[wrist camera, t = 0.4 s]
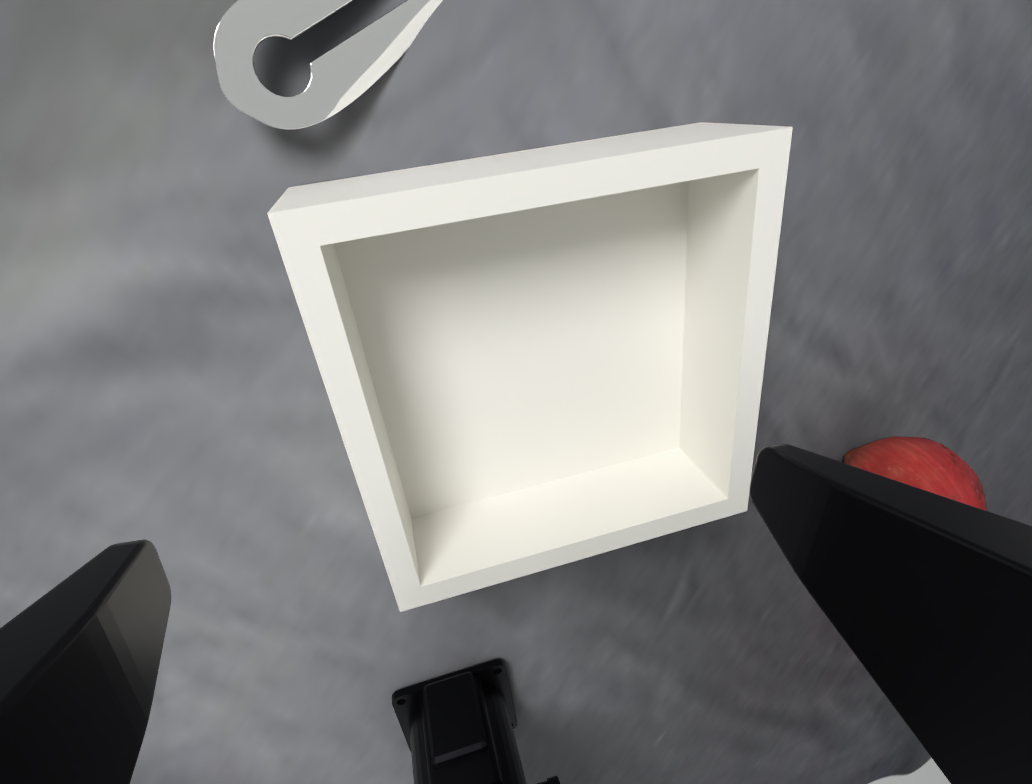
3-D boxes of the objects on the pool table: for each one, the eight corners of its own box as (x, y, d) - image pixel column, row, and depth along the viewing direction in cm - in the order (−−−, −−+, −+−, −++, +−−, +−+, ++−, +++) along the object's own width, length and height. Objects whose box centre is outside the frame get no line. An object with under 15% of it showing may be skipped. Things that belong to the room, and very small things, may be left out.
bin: (686, 448, 28) (747, 510, 23) (392, 526, 25) (400, 611, 21) (700, 122, 20) (792, 126, 16) (288, 187, 18) (267, 213, 14)
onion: (889, 390, 30) (1049, 476, 23) (900, 459, 33) (1045, 554, 26) (797, 446, 30) (928, 549, 23) (816, 510, 33) (938, 617, 26)
